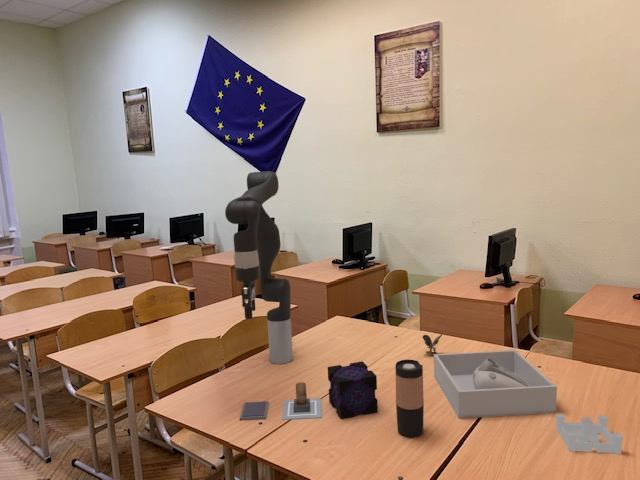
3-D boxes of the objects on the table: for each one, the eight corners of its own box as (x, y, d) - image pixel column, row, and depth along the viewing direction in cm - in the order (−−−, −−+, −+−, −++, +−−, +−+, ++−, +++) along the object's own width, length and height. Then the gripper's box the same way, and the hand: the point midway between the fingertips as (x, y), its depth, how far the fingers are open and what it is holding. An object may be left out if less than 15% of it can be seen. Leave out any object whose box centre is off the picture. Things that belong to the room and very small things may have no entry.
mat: (284, 401, 160) (284, 400, 160) (320, 399, 160) (320, 398, 160) (282, 420, 148) (282, 418, 148) (321, 418, 148) (321, 416, 148)
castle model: (607, 431, 135) (608, 406, 134) (632, 464, 120) (634, 436, 119) (549, 429, 137) (550, 404, 136) (567, 461, 123) (568, 433, 122)
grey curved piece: (504, 409, 147) (505, 375, 146) (460, 389, 161) (460, 358, 160) (536, 392, 157) (536, 360, 155) (491, 375, 170) (491, 346, 169)
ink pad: (244, 405, 159) (243, 401, 159) (268, 403, 159) (268, 400, 159) (239, 421, 149) (239, 417, 149) (266, 419, 149) (265, 416, 149)
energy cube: (340, 419, 147) (338, 382, 145) (329, 401, 159) (327, 366, 157) (377, 412, 150) (376, 375, 149) (363, 395, 162) (362, 361, 160)
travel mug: (393, 435, 137) (391, 367, 134) (401, 422, 144) (400, 357, 141) (419, 441, 134) (418, 372, 131) (427, 427, 140) (426, 361, 137)
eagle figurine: (430, 359, 189) (429, 336, 187) (418, 353, 195) (418, 331, 194) (445, 355, 192) (445, 333, 190) (434, 349, 198) (434, 328, 197)
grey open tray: (434, 376, 173) (433, 354, 172) (515, 372, 174) (515, 349, 172) (458, 418, 145) (458, 392, 143) (556, 413, 145) (556, 386, 144)
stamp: (294, 404, 157) (293, 381, 156) (310, 404, 157) (308, 380, 156) (293, 412, 152) (292, 388, 151) (309, 411, 152) (308, 387, 151)
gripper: (238, 260, 160) (241, 308, 162) (231, 270, 146) (235, 322, 148) (261, 259, 160) (264, 307, 163) (256, 268, 146) (260, 321, 149)
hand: (250, 314), depth 156 cm, fingers open, 8 cm apart
